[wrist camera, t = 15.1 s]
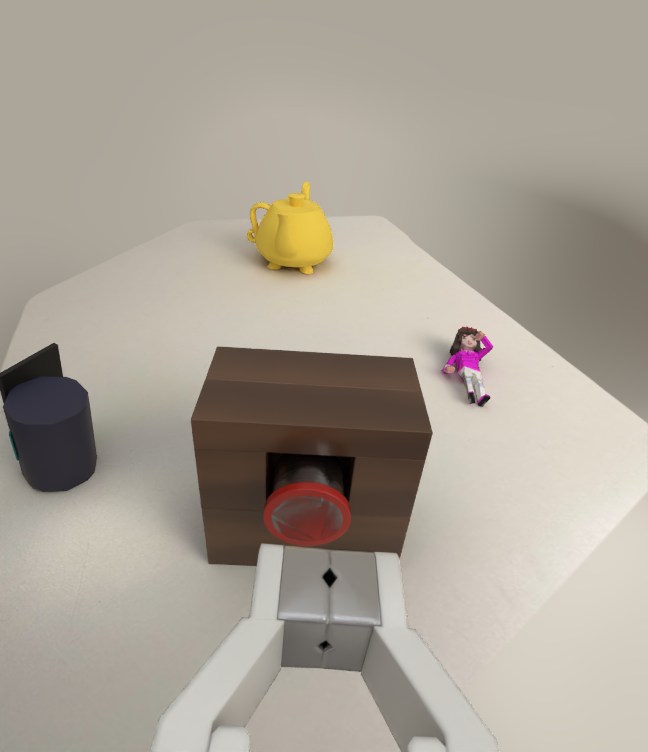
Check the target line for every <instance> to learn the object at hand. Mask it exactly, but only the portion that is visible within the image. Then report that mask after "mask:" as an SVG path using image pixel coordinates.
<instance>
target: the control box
mask: <svg viewBox="0 0 648 752" xmlns="http://www.w3.org/2000/svg"><path fill="white" fill-rule="evenodd" d="M191 426H192V434H193V442H194V450H195V458H196V467H197V475H198V483H199V491H200V499H201V507H202V515H203V523H204V531H205V539H206V547H207V555H208V563H209V564H228V565H250V566H257V561H258V554H259V549H260V546H261V544H276V545H284V548H285V545H286V546H298V547H309V548H321V549H347V550H366V551H373V552H388V553H397V555H398V557H399V559H400V555H401V552H402V548H403V544H404V540H405V536H406V532H407V529H408V525H409V521H410V517H411V513H412V509H413V506H414V502H415V498H416V494H417V490H418V487H419V483H420V479H421V475H422V471H423V467H424V464H425V460H426V456H427V452H428V449H429V445H430V441H431V437H432V429H431V425H430V421H429V417H428V414H427V410H426V406H425V402H424V398H423V395H422V391H421V387H420V384H419V380H418V376H417V372H416V368H415V365H414V361H413V358H401V357H384V356H367V355H351V354H334V353H317V352H300V351H283V350H267V349H250V348H233V347H217V348H216V351H215V354H214V357H213V360H212V362H211V365H210V368H209V371H208V374H207V376H206V379H205V382H204V384H203V387H202V390H201V393H200V395H199V398H198V401H197V404H196V407H195V409H194V412H193V415H192V418H191ZM284 453H291V454H310V455H328V456H336V457H337V458H338V459H339V460H340V462H341V464H342V468H343V495H344V497H345V498H346V499H347V501H348V503H349V505H350V509H351V522H350V525H349V527H348V529H347V530H346V532H345V533H344V534H343V535H342V536H340V537H339V538H337V539H336V540H334V541H332V542H329V543H326V544H322V545H316V546H301V545H295V544H291V543H288V542H285V541H283V540H280V539H279V538H277V537H275V536H274V535H273V534H272V533H271V532H270V531H269V530H268V529H267V527H266V525H265V523H264V519H263V513H264V506H265V503H266V501H267V499H268V498H269V496H270V495H271V494H272V493H273V487H274V479H275V471H276V465H277V462H278V460H279V459H280V457H281V456H282V455H283V454H284Z"/></svg>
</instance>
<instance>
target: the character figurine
mask: <svg viewBox="0 0 648 752" xmlns="http://www.w3.org/2000/svg"><path fill="white" fill-rule="evenodd" d="M480 340H481V341H482V343H483V344H484V346H485V347H486V348H483V349H482V348H480ZM492 348H493V345H492V344H491V343H490V341H489V340H488V339H487V337H486V336H485V334H484V333H482V332H481V331H479V332H478V331H477V329H472V327H471V328H468V327H462V328H460V329H458V333H457V334H456V337H455V340H454V343H453V346H452V347H451V349H450V353H451V355H452V356H451V358H450V359H449V361H448V362H447V363H446V365H445V366H444V368H443V369H442V370H441V371H443V372H444V373H454V371H455V367H454V366H452V365H453V363H454V362H456V366H458V367H459V370H458V375H460V376H461V377H463V379H464V382H465V386H466V391H467V394H468V399H469V400H470V404H471V403H475V398H474V396H475V394H474V390H473V386H474V388H475V390H476V396H477V401H478V405H480V406H482V407H483V406H484V405H485V403H486V402H487V401H488V400H489V399H490V396H489V395H486V394H485V390H484V385H483V379H482V377H481V373H480V369H479V367H478V363H479V361H480V360H481V358H482V357H484V356H485V355H486V354H487V353H488V352H489V351H490V350H492Z"/></svg>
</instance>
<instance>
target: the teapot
mask: <svg viewBox="0 0 648 752" xmlns="http://www.w3.org/2000/svg"><path fill="white" fill-rule="evenodd" d="M288 198H289V199H281V200H277V201H275V202H274V203H273V204H272V205H271V206H270V205H269V204H267V203H264V202H260V203H257V204H255V205H254V206H253V207H252V208H251V210H250V219H251V223H252V227H253V229H250V230H249V231H248V233H247V238H248V240H249V241H251V242H253V243H256V246H257V249H258V250H259V252H260V253H261V254H262V255H263V256H264V257H265V259H267V260H268V261H270V263H269V265H268V268H269V269H273V270H276V269H280V268H281V266H287V267H300V272H301V273H304V274H311V273H313V272H314V271H313V268H312V266H313V265H317V264H319V263H321V262H322V261H324V260H325V259H326V258H327V257H328V256H329V255H330V253H331V252H332V250H333V237H332V231H331V228H330V225H329V223H328V221H327V219H326V217H325V215H324V213H323V211H322V209H321V208H320V206H319V205H318V204H316V203H314V202H312V201H310V183H309V182H305V183H304V184H303V186H302V191H301V194H299V193H292V194H289V195H288ZM257 208H264V209H267V210H268V211H267V212H266V214H265V215H264V217H263V219H262V221H261V223H260V225H259V227H258V223H257V219H256V209H257ZM252 233H254V234H255V237H253V236H252Z"/></svg>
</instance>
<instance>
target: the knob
mask: <svg viewBox="0 0 648 752" xmlns="http://www.w3.org/2000/svg"><path fill="white" fill-rule="evenodd" d="M263 519H264V523H265V525H266V527H267V529H268V530H269V531H270V532H271V533H272V534H273V535H274V536H275V537H277V538H279V539H280V540H283V541H285V542H288V543H291V544H295V545H301V546H316V545H322V544H326V543H329V542H332V541H334V540H336V539H337V538H339V537H340V536H342V535H343V534H344V533H345V532H346V530H347V529H348V527H349V525H350V522H351V509H350V505H349V503H348V501H347V499H346V498H345V497H344V495H343V468H342V464H341V462H340V460H339V459H338V458H337V457H336V456H328V455H310V454H291V453H284V454H283V455H282V456H281V457H280V459H279V460H278V462H277V465H276V471H275V479H274V487H273V493H272V494H271V495H270V496H269V498H268V499H267V501H266V503H265V506H264V513H263Z"/></svg>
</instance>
